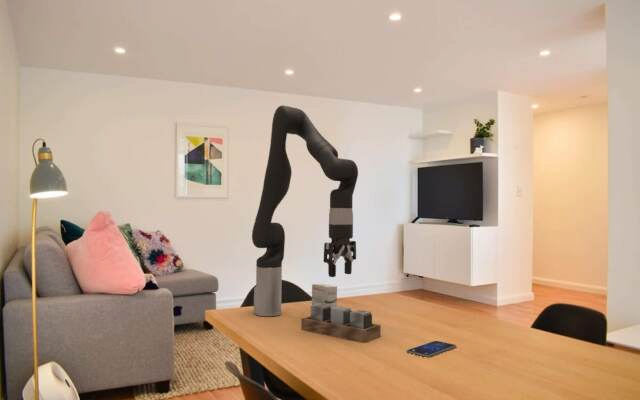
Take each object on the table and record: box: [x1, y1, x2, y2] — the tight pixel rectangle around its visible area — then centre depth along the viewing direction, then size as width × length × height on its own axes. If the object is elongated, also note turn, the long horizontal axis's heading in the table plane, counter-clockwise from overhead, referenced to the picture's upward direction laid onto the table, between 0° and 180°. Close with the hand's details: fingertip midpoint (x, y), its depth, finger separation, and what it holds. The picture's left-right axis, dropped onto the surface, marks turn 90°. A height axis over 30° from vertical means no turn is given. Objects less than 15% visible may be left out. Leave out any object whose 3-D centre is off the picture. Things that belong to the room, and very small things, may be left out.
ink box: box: [311, 283, 338, 308], centre depth 164 cm, size 8×5×12 cm, turn 39°
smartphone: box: [405, 340, 457, 358], centre depth 128 cm, size 7×1×15 cm
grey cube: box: [331, 306, 352, 325], centre depth 145 cm, size 5×4×6 cm
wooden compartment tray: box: [300, 304, 382, 344], centre depth 145 cm, size 24×9×8 cm, turn 53°
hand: (340, 275), depth 145 cm, fingers open, 8 cm apart
